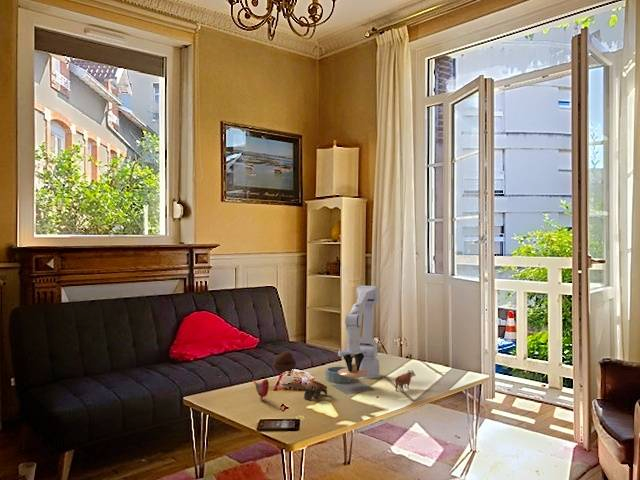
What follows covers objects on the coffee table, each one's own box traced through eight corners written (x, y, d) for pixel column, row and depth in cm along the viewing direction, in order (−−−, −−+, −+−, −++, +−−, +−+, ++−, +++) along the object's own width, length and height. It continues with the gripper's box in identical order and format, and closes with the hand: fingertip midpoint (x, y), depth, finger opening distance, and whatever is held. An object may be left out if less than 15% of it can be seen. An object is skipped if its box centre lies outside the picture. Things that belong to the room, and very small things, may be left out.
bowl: (344, 375, 270) (344, 365, 270) (355, 381, 259) (355, 371, 259) (321, 378, 265) (321, 368, 265) (332, 384, 254) (332, 374, 254)
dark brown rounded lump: (297, 380, 262) (297, 348, 262) (294, 386, 251) (294, 353, 251) (275, 379, 263) (275, 348, 263) (271, 386, 252) (271, 353, 252)
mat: (360, 382, 258) (360, 381, 258) (376, 390, 245) (376, 390, 245) (331, 386, 252) (331, 385, 252) (346, 395, 238) (346, 394, 238)
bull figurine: (417, 387, 250) (417, 369, 250) (400, 394, 240) (400, 375, 240) (409, 385, 253) (409, 367, 253) (391, 392, 243) (391, 373, 243)
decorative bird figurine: (265, 405, 224) (265, 381, 224) (249, 394, 240) (249, 371, 239) (271, 404, 225) (271, 380, 225) (256, 393, 241) (256, 370, 241)
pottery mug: (300, 396, 238) (307, 378, 240) (319, 405, 239) (327, 387, 241) (305, 397, 226) (313, 378, 229) (326, 407, 227) (334, 388, 230)
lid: (359, 369, 257) (359, 359, 257) (374, 377, 245) (374, 366, 245) (332, 373, 252) (332, 362, 252) (346, 380, 239) (346, 369, 239)
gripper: (343, 343, 241) (343, 374, 242) (372, 340, 247) (372, 371, 248) (336, 340, 248) (336, 370, 248) (364, 338, 254) (364, 367, 254)
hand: (353, 370), depth 248 cm, fingers closed on lid, 3 cm apart
